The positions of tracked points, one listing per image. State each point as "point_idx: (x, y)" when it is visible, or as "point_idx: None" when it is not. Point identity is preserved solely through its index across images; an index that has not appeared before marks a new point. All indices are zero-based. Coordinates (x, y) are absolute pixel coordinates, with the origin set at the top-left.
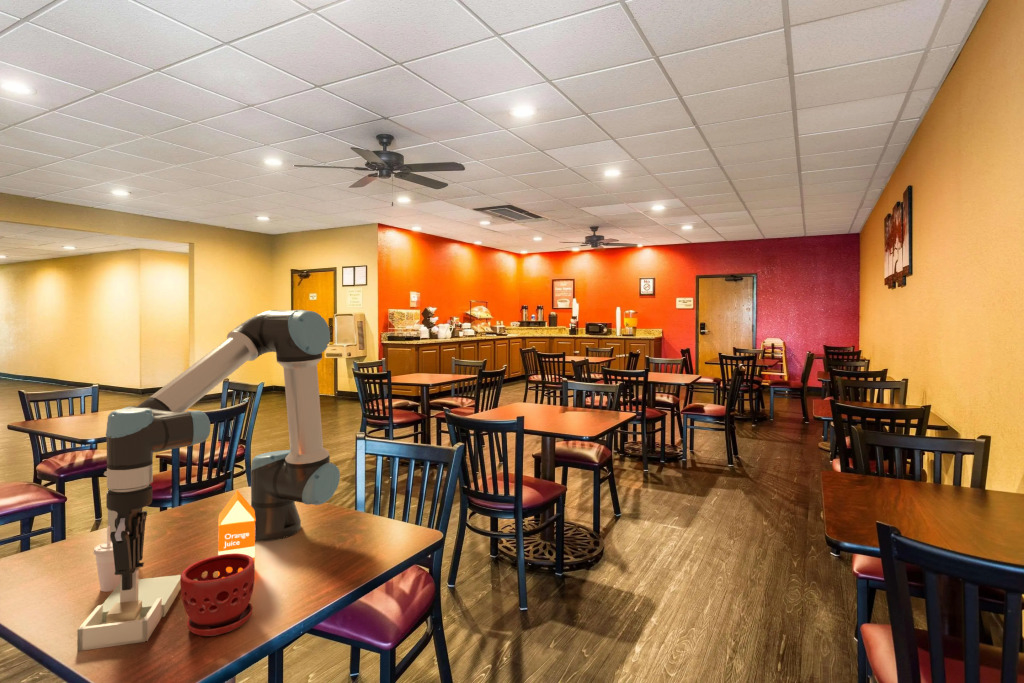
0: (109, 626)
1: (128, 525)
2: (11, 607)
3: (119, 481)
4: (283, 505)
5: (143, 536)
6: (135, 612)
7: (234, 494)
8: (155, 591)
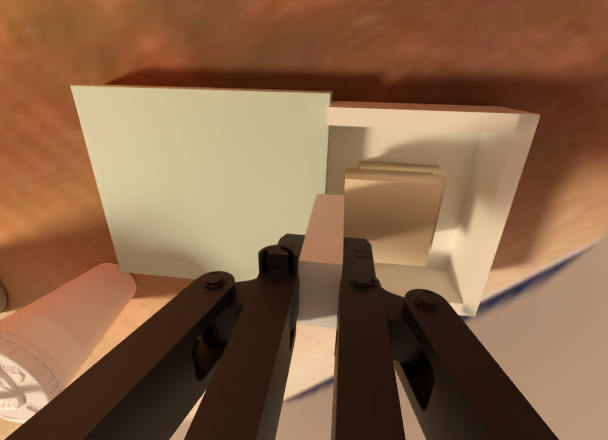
0: (499, 238)
1: None
2: (191, 415)
3: None
4: None
5: (77, 401)
6: (424, 179)
7: None
8: (206, 156)
